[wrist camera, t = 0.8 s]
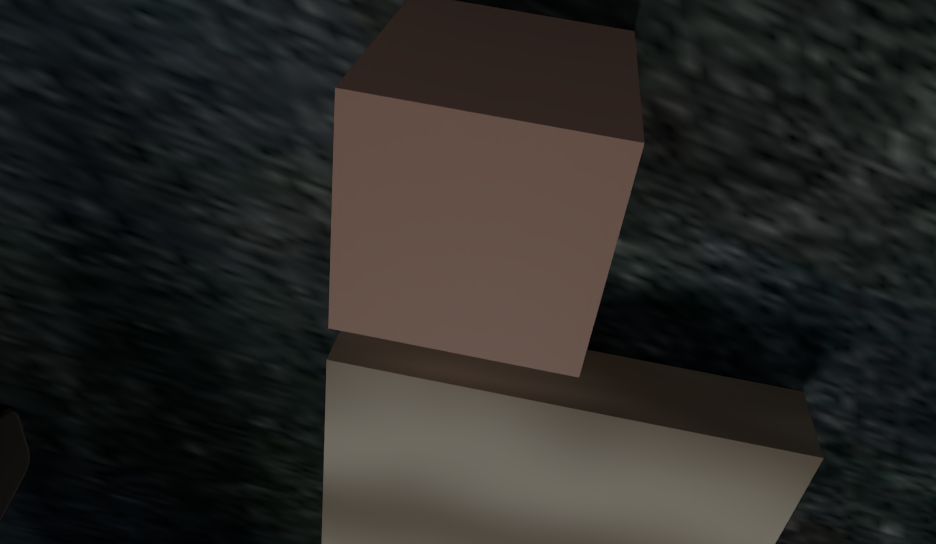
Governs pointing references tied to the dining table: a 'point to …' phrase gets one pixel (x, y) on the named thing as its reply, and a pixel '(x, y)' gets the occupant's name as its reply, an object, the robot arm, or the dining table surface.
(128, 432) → the dining table surface
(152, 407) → the dining table surface
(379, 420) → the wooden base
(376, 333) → the terracotta block
